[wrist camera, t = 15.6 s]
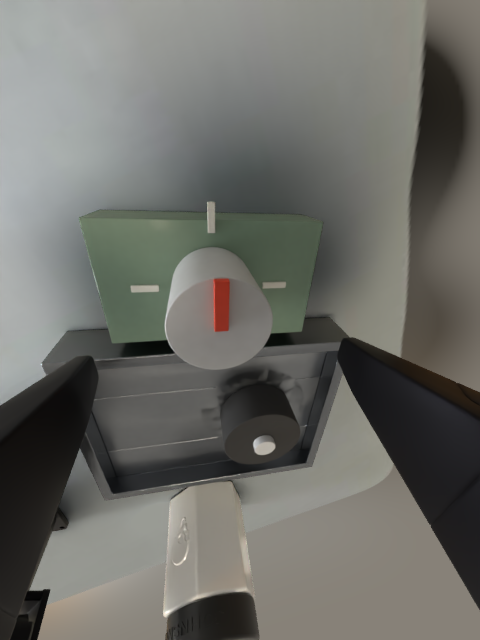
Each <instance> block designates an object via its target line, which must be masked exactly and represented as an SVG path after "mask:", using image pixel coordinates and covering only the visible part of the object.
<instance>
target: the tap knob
mask: <svg viewBox="0 0 480 640" xmlns="http://www.w3.org/2000/svg"><path fill="white" fill-rule="evenodd" d="M272 325H273V315H272V310H271V307H270V304H269V302H268V300H267V299H266V297H265V295H264V294H263V292H262V291H261V289H260V287H259V286H258V284H257V283H256V281H255V279H254V278H253V276H252V275H251V273H250V271H249V270H248V268H247V267H246V265H245V263H244V262H243V261H242V260H241V259H240V258H239V257H238V256H237V255H235V254H234V253H232V252H230V251H228V250H226V249H223V248H218V247H206V248H201V249H198V250H195V251H193V252H191V253H190V254H188V255H187V256H185V257H184V258H183V259H182V260H181V261H180V263H179V264H178V266H177V267H176V269H175V271H174V274H173V278H172V283H171V289H170V295H169V300H168V306H167V312H166V318H165V333H166V338H167V340H168V343H169V345H170V346H171V348H172V349H173V351H174V352H175V353H176V354H177V355H178V356H179V357H180V358H181V359H183V360H184V361H186V362H187V363H189V364H191V365H194V366H196V367H200V368H204V369H212V370H219V369H227V368H232V367H235V366H238V365H240V364H243V363H245V362H246V361H248V360H250V359H251V358H253V357H254V356H255V355H256V354H257V353H258V352H259V351H260V350H261V349H262V348H263V347H264V345H265V344H266V342H267V340H268V338H269V336H270V333H271V330H272Z"/></svg>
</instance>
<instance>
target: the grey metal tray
mask: <svg viewBox="0 0 480 640" xmlns="http://www.w3.org/2000/svg"><path fill="white" fill-rule="evenodd" d="M344 338H350V337H349V336H348V335H347V334H346V333H345V332H344V331H343V330H342V329H341V328H340V327H339V326H338V325H337V324H336V323H335V322H334V321H333V320H332V319H331V318H330V317H323V318H304V323H303V328H302V331H301V332H287V333H272V334H270V336H269V338H268V340H267V342H266V344H265V345H264V347H263V348H262V349H261V350H260V351H259V352H258V353H257V354H256V355H255V356H254V357H265V356H277V355H290V354H302V353H315V352H327V353H326V356H325V360H324V364H323V367H322V371H321V375H320V379H319V382H318V386H317V390H316V393H315V397H314V401H313V405H312V408H311V412H310V416H309V419H308V423H307V426H306V430H305V434H304V437H303V441H302V445H301V448H300V449H298V450H291V451H289V452H287V453H286V454H284V455H283V456H281V457H279V458H277V459H275V460H272V461H269V462H265V463H261V464H242V463H238V462H236V461H234V460H232V459H231V460H224V461H218V462H211V463H204V464H198V465H191V466H184V467H178V468H171V469H164V470H158V471H151V472H144V473H138V474H131V475H124V476H117V475H116V472H115V470H114V467H113V464H112V462H111V459H110V457H109V454H108V451H107V449H106V446H105V444H104V441H103V438H102V436H101V433H100V431H99V428H98V425H97V423H96V420H95V418H94V415H93V412H92V411H91V415H90V419H89V423H88V426H87V429H86V432H85V435H84V437H83V440H82V443H81V445H80V449H81V451H82V453H83V455H84V457H85V459H86V462H87V464H88V466H89V468H90V470H91V472H92V474H93V476H94V478H95V481H96V483H97V485H98V487H99V489H100V491H101V493H102V495H103V497H104V499H105V500H112V499H118V498H124V497H130V496H136V495H142V494H148V493H154V492H160V491H166V490H173V489H179V488H185V487H191V486H197V485H203V484H209V483H215V482H221V481H227V480H233V479H240V478H246V477H252V476H258V475H264V474H270V473H276V472H282V471H288V470H294V469H300V468H307V467H312V465H313V462H314V459H315V456H316V453H317V450H318V447H319V444H320V441H321V438H322V435H323V432H324V429H325V426H326V423H327V420H328V417H329V414H330V411H331V407H332V404H333V401H334V398H335V395H336V392H337V389H338V386H339V383H340V380H341V377H342V374H343V371H342V369H341V367H340V365H339V363H338V360H337V354H338V350H339V347H340V344H341V341H342V339H344ZM85 355H90V356H92V357H93V359H94V362H95V365H96V368H97V370H101V369H113V368H126V367H139V366H151V365H164V364H176V363H187V362H186V361H184V360H183V359H181V358H180V357H179V356H178V355H177V354H176V353H175V352H174V351H173V349H172V348H171V346H170V345H169V343H168V340H161V341H145V342H129V343H112V341H111V337H110V333H109V330H108V329H99V330H80V331H67V332H66V333H65V334H64V336H63V337H62V338H61V339H60V341H59V342H58V343H57V344H56V346H55V347H54V348H53V349H52V351H51V352H50V353H49V354H48V356H47V357H46V358H45V359H44V361H43V362H42V363H41V365H42V367H43V369H44V372H45V373H46V376H47V375H49V374H50V373H52V372H53V371H55V370H56V369H58V368H59V367H61V366H62V365H64V364H66V363H67V362H69V361H70V360H72V359H73V358H75V357H77V356H85Z"/></svg>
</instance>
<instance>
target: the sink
mask: <svg viewBox="0 0 480 640" xmlns="http://www.w3.org/2000/svg"><path fill="white" fill-rule="evenodd" d="M326 353H327V352H315V353H302V354H290V355H277V356H265V357H253V358H251V359H250V360H248V361H246V362H245V363H243V364H240V365H238V366H235V367H232V368H227V369H219V370H212V369H204V368H200V367H196V366H194V365H191V364H189V363H176V364H164V365H151V366H139V367H126V368H113V369H101V370H97V371H98V375H99V381H98V385H97V390H96V394H95V398H94V402H93V407H92V412H93V415H94V418H95V420H96V423H97V425H98V428H99V431H100V433H101V436H102V438H103V441H104V444H105V446H106V449H107V451H108V454H109V457H110V459H111V462H112V464H113V467H114V470H115V472H116V475H117V476H124V475H131V474H138V473H144V472H151V471H158V470H164V469H171V468H178V467H184V466H191V465H198V464H204V463H211V462H218V461H224V460H231V459H230V458H229V457H228V456H227V454H226V453H225V450H224V443H223V435H222V427H221V419H220V411H221V407H222V405H223V403H224V402H225V401H226V399H227V398H228V397H229V396H230V395H232V394H233V393H234V392H236V391H238V390H240V389H242V388H245V387H248V386H252V385H259V384H264V385H271V386H275V387H277V388H279V389H280V390H282V391H283V392H284V393H285V395H286V397H287V399H288V401H289V403H290V406H291V408H292V410H293V413H294V415H295V417H296V419H297V422H298V424H299V426H300V437H299V440H298V442H297V443H296V445H295V446H294V447H293V448H292V449H291V450H298V449H300V448H301V445H302V441H303V437H304V434H305V430H306V426H307V423H308V419H309V416H310V412H311V408H312V405H313V401H314V397H315V393H316V390H317V386H318V382H319V379H320V375H321V371H322V367H323V364H324V360H325V356H326ZM291 450H290V451H291Z"/></svg>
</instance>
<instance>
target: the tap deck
mask: <svg viewBox="0 0 480 640" xmlns="http://www.w3.org/2000/svg"><path fill="white" fill-rule="evenodd" d="M79 222H80V225H81V229H82V233H83V237H84V240H85V244H86V248H87V252H88V255H89V259H90V263H91V266H92V270H93V274H94V278H95V281H96V285H97V289H98V292H99V296H100V300H101V304H102V307H103V311H104V315H105V319H106V322H107V326H108V330H109V333H110V337H111V341H112V343H129V342H145V341H161V340H167V338H166V333H165V318H166V312H167V306H168V300H169V295H170V289H171V283H172V278H173V274H174V271H175V269H176V267H177V266H178V264H179V263H180V261H181V260H182V259H183V258H184V257H185V256H187V255H188V254H190V253H191V252H193V251H195V250H198V249H201V248H206V247H218V248H223V249H226V250H228V251H230V252H232V253H234V254H235V255H237V256H238V257H239V258H240V259H241V260H242V261H243V262H244V263H245V265H246V267H247V268H248V270H249V271H250V273H251V275H252V276H253V278H254V279H255V281H256V283H257V284H258V286H259V287H260V289H261V291H262V292H263V294H264V295H265V297H266V299H267V300H268V302H269V304H270V307H271V310H272V315H273V325H272V330H271V333H270V334H272V333H287V332H301V331H302V328H303V323H304V318H305V313H306V307H307V302H308V297H309V292H310V287H311V282H312V277H313V272H314V267H315V262H316V257H317V252H318V247H319V242H320V237H321V232H322V227H323V222H322V221H319V220H316V219H313V218H310V217H307V216H305V215H301V214H258V213H215V202H207V212H172V211H129V210H98V211H95V212H92V213H90V214H87V215H84V216H82V217H79Z"/></svg>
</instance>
